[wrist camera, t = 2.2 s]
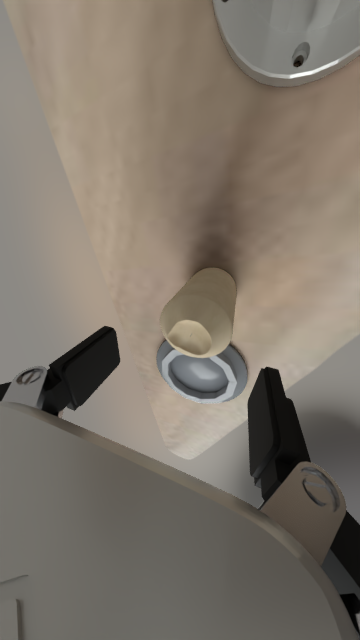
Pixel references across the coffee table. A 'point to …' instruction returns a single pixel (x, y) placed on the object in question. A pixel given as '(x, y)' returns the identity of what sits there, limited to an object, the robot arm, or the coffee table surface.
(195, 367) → the candle dish
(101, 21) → the coffee table surface
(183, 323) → the candle
